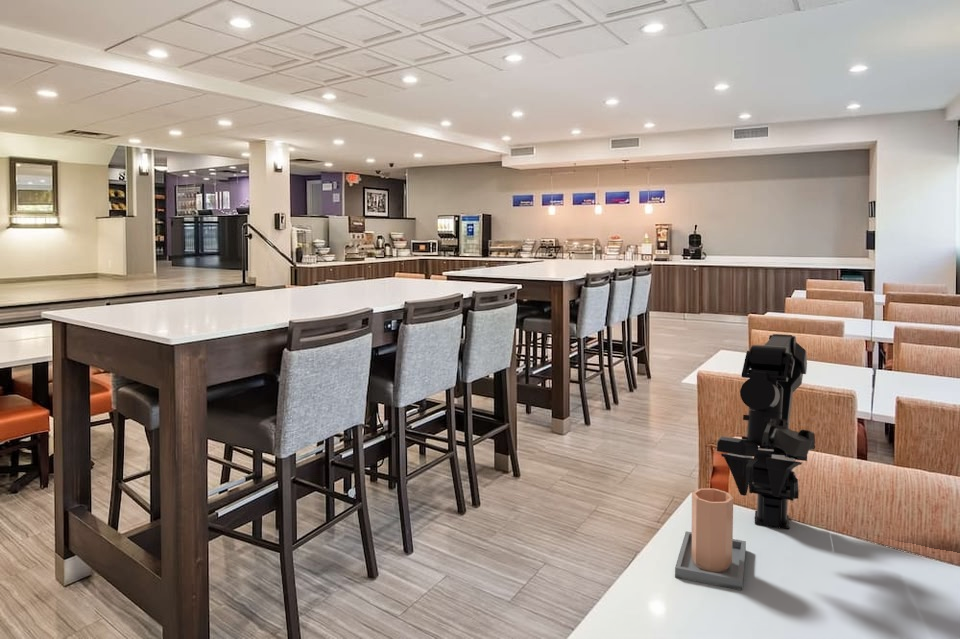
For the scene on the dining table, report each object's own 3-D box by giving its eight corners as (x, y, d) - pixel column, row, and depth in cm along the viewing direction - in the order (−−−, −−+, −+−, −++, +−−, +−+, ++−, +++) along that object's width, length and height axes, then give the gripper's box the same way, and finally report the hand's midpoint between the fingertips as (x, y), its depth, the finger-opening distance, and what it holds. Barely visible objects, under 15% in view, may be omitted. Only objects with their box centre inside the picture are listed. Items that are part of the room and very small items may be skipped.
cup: (703, 551, 115) (704, 485, 114) (736, 563, 111) (738, 495, 109) (686, 563, 111) (686, 495, 110) (720, 577, 106) (721, 506, 105)
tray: (685, 539, 121) (685, 531, 121) (745, 550, 117) (745, 541, 116) (675, 577, 108) (675, 567, 108) (742, 590, 103) (742, 580, 103)
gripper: (771, 411, 104) (765, 504, 102) (836, 420, 112) (832, 506, 110) (717, 405, 113) (711, 491, 111) (781, 414, 122) (777, 493, 120)
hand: (759, 495), depth 113 cm, fingers open, 9 cm apart
